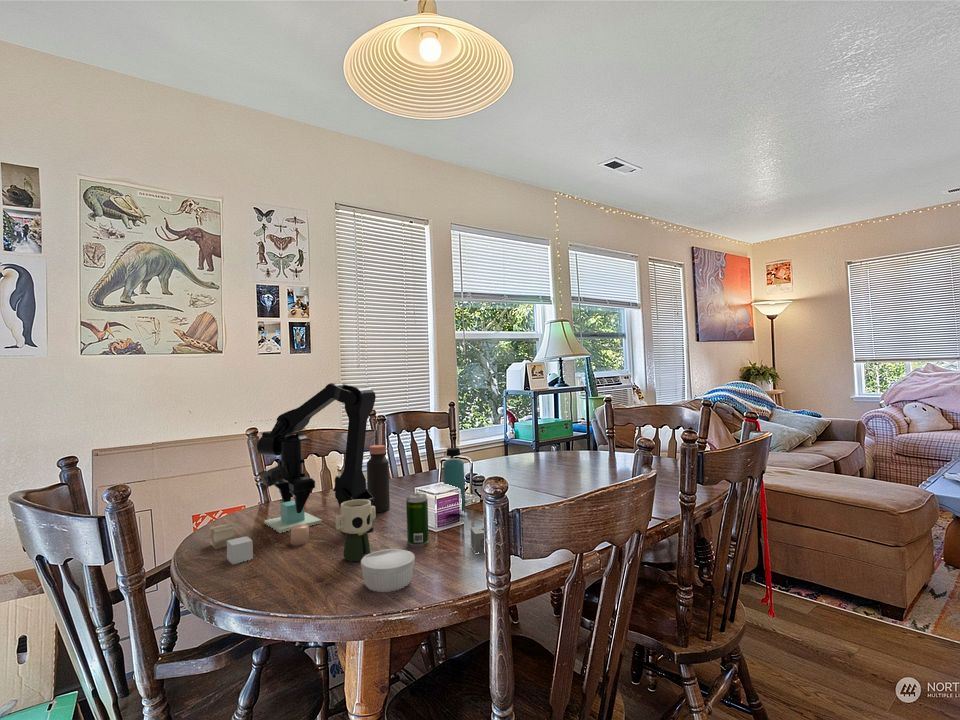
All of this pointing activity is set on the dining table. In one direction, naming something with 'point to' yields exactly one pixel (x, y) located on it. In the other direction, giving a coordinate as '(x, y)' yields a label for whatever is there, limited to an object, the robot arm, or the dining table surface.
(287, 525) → the sage pad
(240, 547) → the grey plastic block
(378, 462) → the dark water bottle
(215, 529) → the birch block
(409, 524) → the beer can
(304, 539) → the terracotta cylinder
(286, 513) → the teal block
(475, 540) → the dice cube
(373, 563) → the ramekin
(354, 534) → the character mug
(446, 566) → the dining table surface
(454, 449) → the beverage bottle
